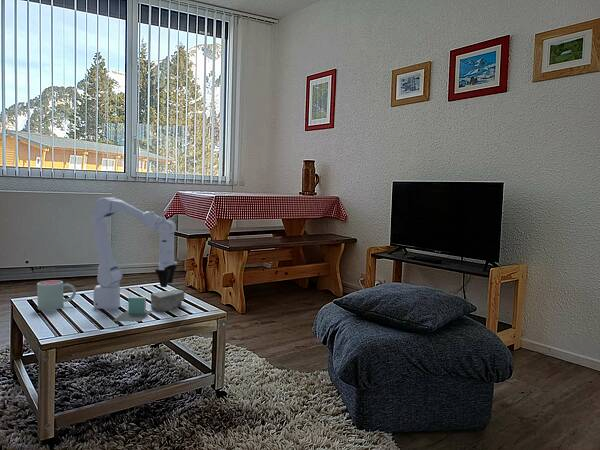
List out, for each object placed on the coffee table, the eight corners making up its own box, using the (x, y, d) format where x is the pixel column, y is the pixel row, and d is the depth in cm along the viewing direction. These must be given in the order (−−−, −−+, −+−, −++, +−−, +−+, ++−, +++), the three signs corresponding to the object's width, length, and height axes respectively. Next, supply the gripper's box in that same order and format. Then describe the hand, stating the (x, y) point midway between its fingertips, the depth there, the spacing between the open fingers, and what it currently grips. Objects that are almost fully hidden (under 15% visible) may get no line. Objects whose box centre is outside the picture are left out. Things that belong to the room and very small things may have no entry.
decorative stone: (145, 313, 187) (167, 314, 184) (144, 295, 186) (167, 297, 183) (166, 304, 201) (187, 305, 198) (165, 288, 200) (186, 289, 197)
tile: (128, 313, 183) (128, 297, 182) (130, 312, 184) (130, 296, 184) (144, 313, 183) (144, 298, 182) (145, 312, 184) (145, 297, 184)
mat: (112, 322, 173) (112, 320, 173) (127, 311, 187) (127, 310, 187) (140, 323, 173) (140, 321, 173) (152, 312, 187) (152, 311, 186)
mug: (37, 311, 185) (36, 286, 184) (38, 305, 193) (37, 281, 192) (76, 307, 191) (76, 283, 190) (75, 302, 199) (75, 278, 198)
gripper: (171, 254, 182) (171, 289, 183) (181, 248, 196) (181, 281, 198) (153, 253, 182) (153, 288, 183) (164, 248, 196) (164, 280, 198)
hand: (166, 284), depth 190 cm, fingers open, 7 cm apart
